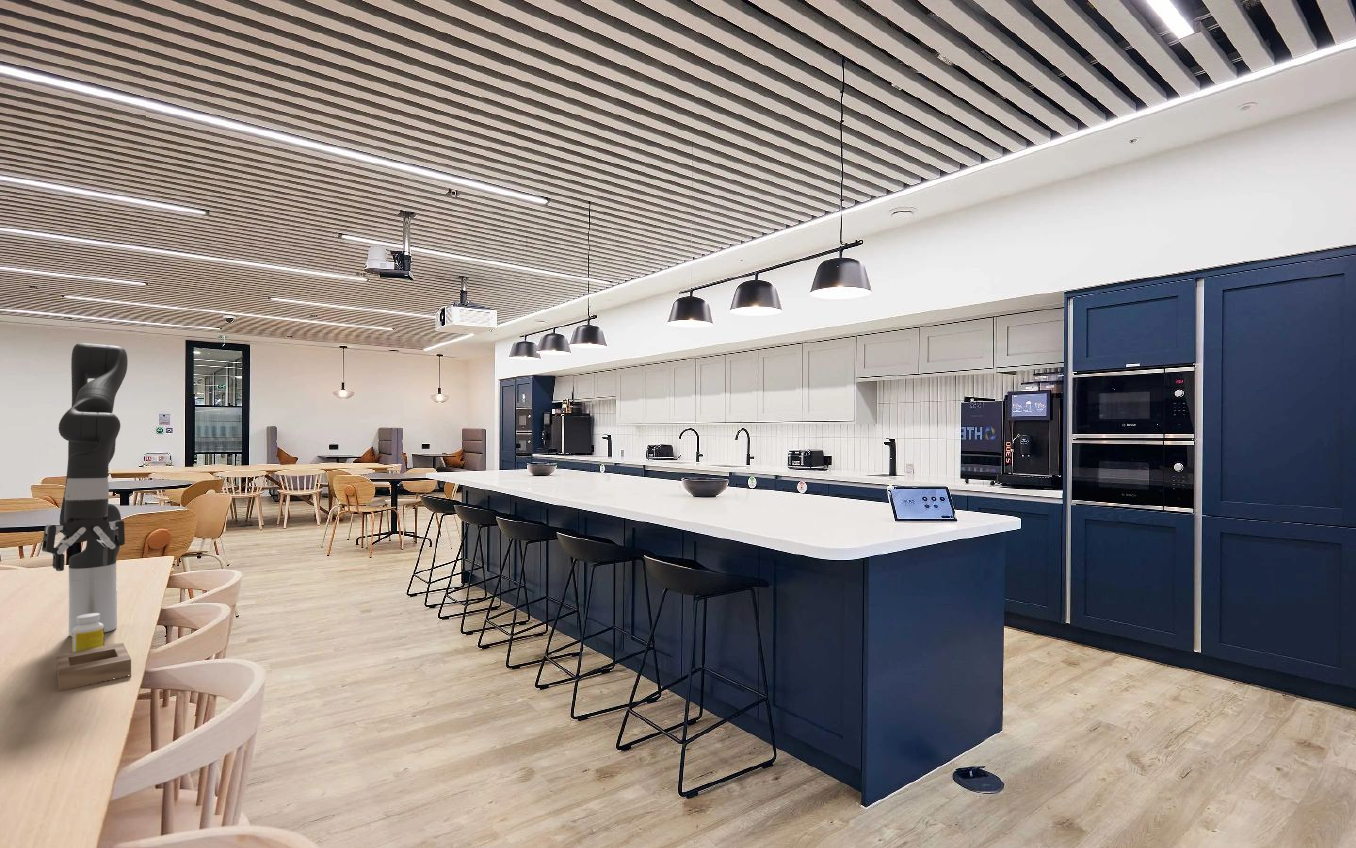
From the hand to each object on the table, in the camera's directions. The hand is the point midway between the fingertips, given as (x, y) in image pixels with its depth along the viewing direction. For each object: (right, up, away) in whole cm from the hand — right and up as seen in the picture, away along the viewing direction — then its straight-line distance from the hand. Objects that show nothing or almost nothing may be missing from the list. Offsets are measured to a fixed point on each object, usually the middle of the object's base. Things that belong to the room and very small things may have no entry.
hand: (83, 568), depth 150 cm
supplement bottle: (+3, -20, -2) cm, 21 cm away
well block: (+13, -20, -12) cm, 27 cm away
